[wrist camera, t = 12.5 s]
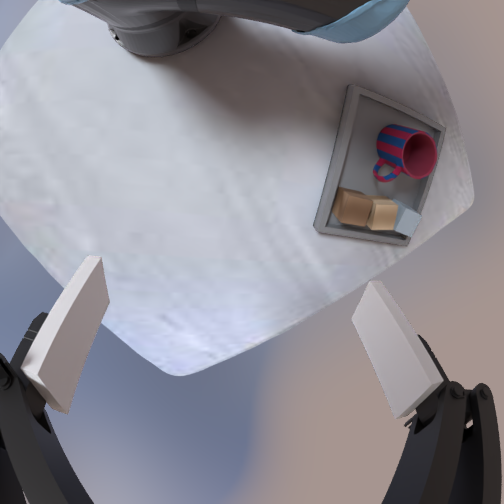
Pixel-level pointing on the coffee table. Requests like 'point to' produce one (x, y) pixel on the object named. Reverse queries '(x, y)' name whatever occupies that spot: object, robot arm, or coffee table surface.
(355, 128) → the tray
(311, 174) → the coffee table surface
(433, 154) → the mug
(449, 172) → the coffee table surface
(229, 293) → the coffee table surface
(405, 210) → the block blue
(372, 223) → the block beech
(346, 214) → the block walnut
